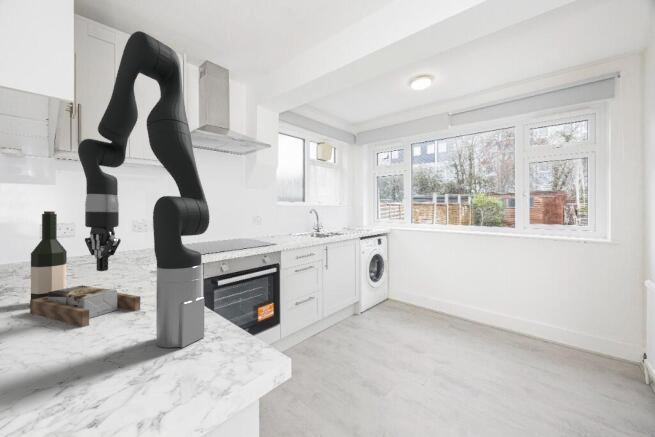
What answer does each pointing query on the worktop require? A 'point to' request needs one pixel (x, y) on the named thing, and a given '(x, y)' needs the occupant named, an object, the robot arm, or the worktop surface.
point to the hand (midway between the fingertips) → (102, 270)
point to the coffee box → (87, 299)
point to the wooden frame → (76, 309)
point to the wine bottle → (48, 260)
